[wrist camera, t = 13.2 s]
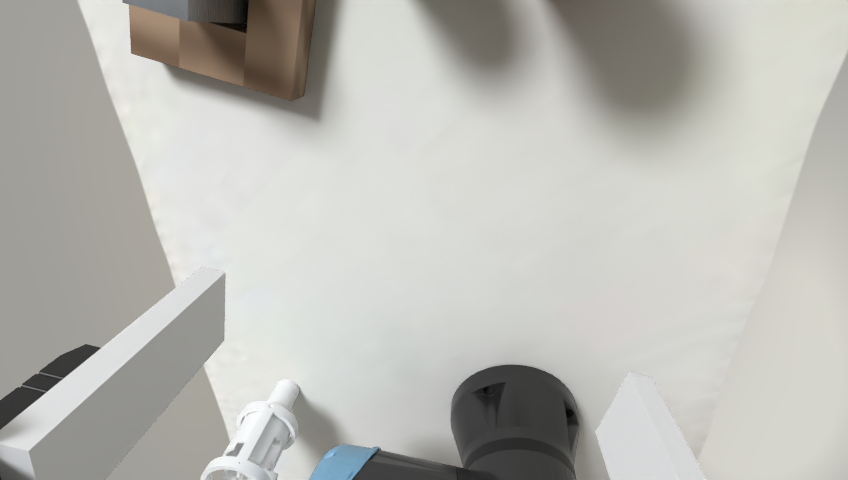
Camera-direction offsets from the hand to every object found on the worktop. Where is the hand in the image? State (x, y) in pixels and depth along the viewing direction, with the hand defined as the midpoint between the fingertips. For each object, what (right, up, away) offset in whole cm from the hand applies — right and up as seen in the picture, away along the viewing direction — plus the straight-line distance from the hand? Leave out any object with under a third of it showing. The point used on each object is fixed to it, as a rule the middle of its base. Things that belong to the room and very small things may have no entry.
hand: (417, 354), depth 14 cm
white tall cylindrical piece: (-17, -16, +42) cm, 48 cm away
